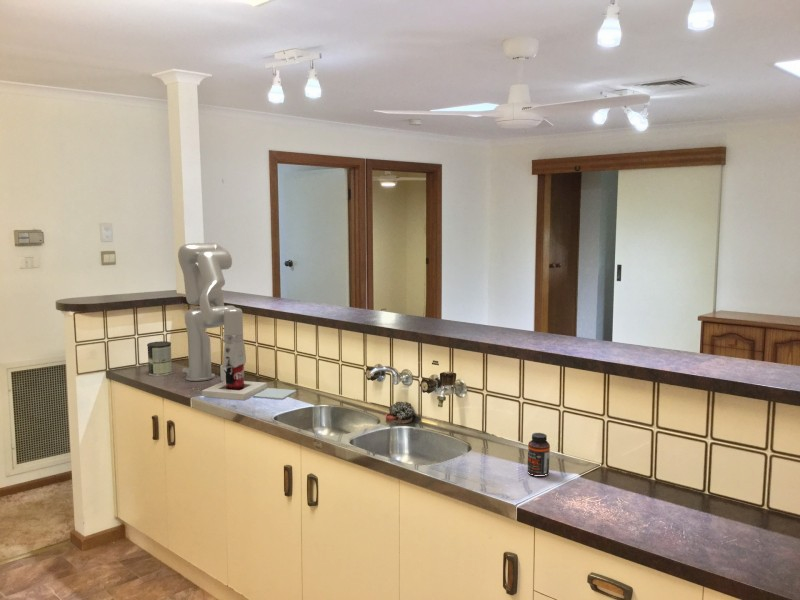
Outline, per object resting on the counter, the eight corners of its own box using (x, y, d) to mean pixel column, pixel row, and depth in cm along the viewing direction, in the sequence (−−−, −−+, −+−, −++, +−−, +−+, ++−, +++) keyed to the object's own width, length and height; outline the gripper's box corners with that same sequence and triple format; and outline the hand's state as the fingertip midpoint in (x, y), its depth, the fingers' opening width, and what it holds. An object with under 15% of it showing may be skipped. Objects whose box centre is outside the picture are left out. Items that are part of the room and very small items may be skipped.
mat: (252, 397, 270) (252, 395, 270) (268, 389, 282) (268, 388, 282) (282, 399, 266) (282, 398, 266) (296, 391, 278) (296, 390, 278)
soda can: (246, 390, 280) (246, 362, 279) (241, 395, 273) (240, 366, 272) (229, 390, 281) (228, 361, 280) (223, 394, 274) (222, 365, 272)
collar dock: (201, 396, 271) (201, 390, 270) (227, 385, 289) (226, 379, 288) (244, 400, 265) (244, 394, 265) (267, 388, 283) (267, 382, 283)
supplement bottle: (523, 475, 188) (524, 435, 186) (532, 468, 193) (533, 430, 191) (544, 479, 185) (545, 439, 183) (552, 472, 189) (553, 433, 188)
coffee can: (143, 375, 308) (142, 344, 307) (158, 370, 318) (157, 340, 316) (162, 376, 305) (161, 346, 303) (177, 371, 315) (175, 342, 313)
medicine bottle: (244, 380, 298) (243, 353, 297) (231, 383, 293) (230, 356, 291) (232, 378, 302) (232, 351, 301) (220, 381, 297) (219, 354, 295)
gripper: (230, 342, 265) (232, 386, 267) (252, 335, 282) (253, 377, 284) (213, 341, 267) (215, 385, 269) (236, 334, 284) (237, 375, 286)
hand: (235, 380), depth 276 cm, fingers closed on soda can, 7 cm apart
